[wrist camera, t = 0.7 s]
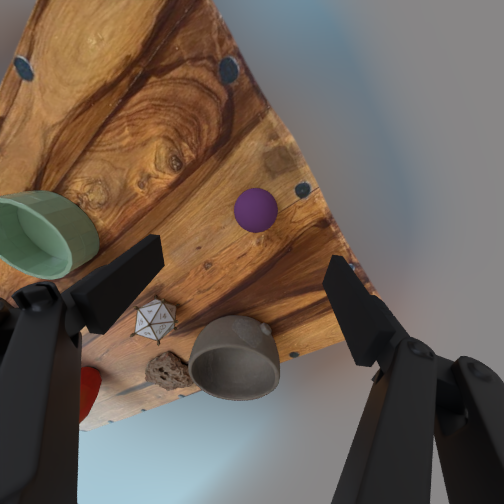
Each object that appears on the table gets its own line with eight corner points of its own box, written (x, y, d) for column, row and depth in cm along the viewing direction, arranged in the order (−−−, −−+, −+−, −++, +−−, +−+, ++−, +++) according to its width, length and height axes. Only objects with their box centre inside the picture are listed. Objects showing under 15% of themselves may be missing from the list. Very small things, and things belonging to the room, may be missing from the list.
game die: (172, 285, 42) (159, 289, 32) (192, 317, 42) (185, 331, 32) (134, 308, 40) (107, 320, 30) (155, 342, 40) (135, 364, 31)
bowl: (264, 294, 37) (264, 339, 28) (286, 350, 45) (291, 399, 36) (188, 310, 40) (166, 355, 32) (220, 359, 48) (209, 406, 39)
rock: (169, 347, 47) (162, 362, 44) (205, 373, 52) (201, 389, 49) (134, 365, 52) (126, 380, 48) (170, 388, 57) (164, 403, 53)
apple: (116, 367, 53) (71, 432, 41) (110, 385, 58) (68, 448, 46) (70, 351, 51) (8, 416, 38) (69, 372, 56) (13, 435, 44)
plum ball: (238, 182, 27) (231, 190, 22) (279, 187, 27) (282, 195, 22) (236, 221, 30) (230, 236, 25) (273, 225, 30) (275, 241, 25)
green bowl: (2, 185, 30) (-49, 192, 25) (85, 194, 30) (49, 203, 25) (40, 258, 36) (5, 274, 31) (108, 265, 36) (84, 283, 31)
